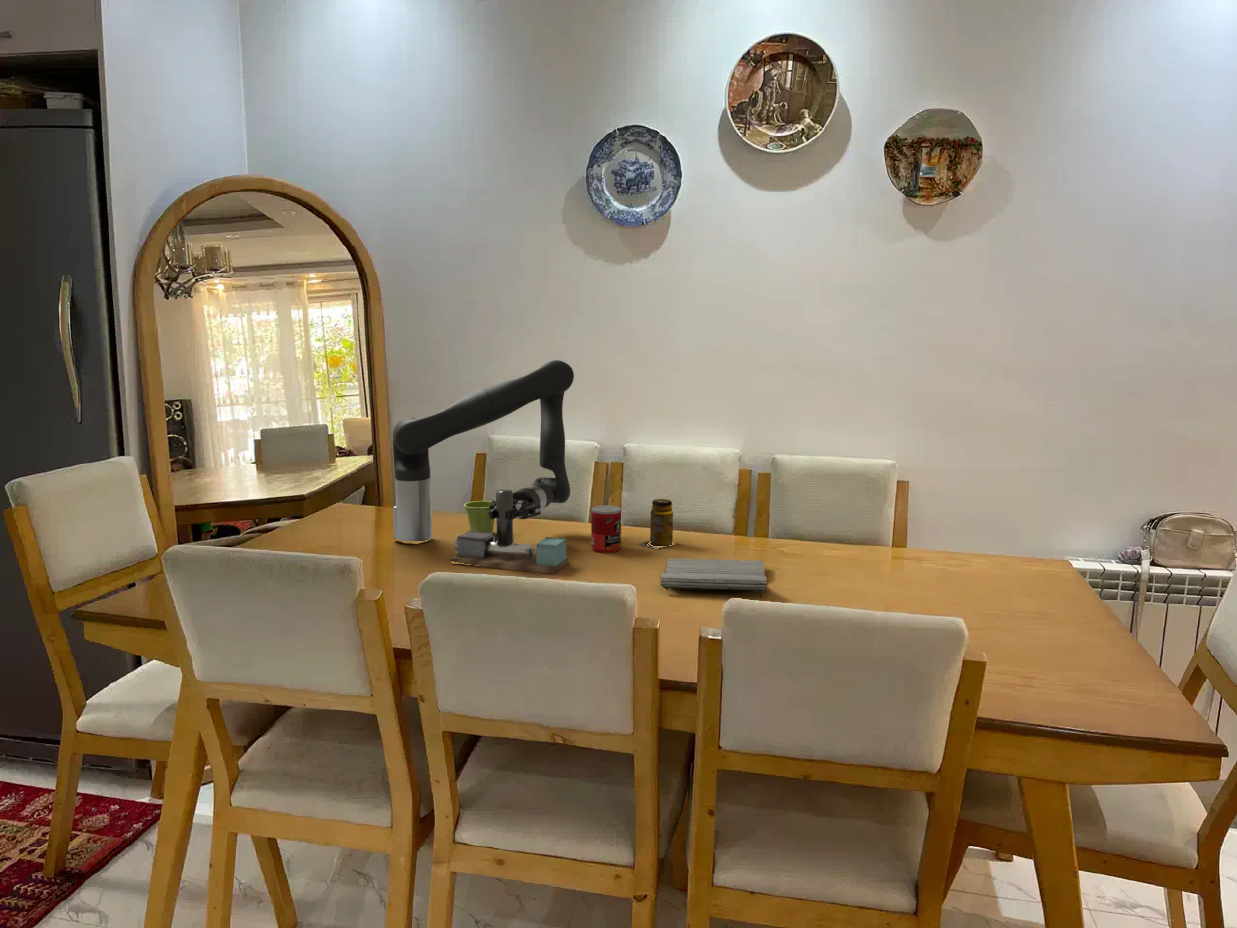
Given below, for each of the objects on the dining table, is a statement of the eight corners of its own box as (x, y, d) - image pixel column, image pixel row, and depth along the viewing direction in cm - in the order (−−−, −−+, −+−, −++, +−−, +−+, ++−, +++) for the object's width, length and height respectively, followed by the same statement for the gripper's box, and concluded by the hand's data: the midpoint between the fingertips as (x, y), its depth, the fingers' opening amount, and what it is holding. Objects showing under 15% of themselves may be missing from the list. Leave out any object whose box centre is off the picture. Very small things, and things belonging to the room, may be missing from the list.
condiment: (679, 544, 221) (680, 500, 219) (657, 550, 215) (658, 505, 213) (659, 539, 226) (660, 496, 224) (638, 544, 221) (638, 501, 219)
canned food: (609, 554, 210) (609, 513, 209) (585, 549, 215) (585, 508, 213) (626, 548, 216) (627, 507, 215) (603, 543, 221) (603, 503, 219)
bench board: (450, 563, 201) (450, 557, 201) (469, 553, 211) (469, 547, 210) (553, 574, 194) (553, 567, 193) (568, 562, 203) (568, 556, 203)
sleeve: (457, 556, 202) (457, 536, 202) (469, 549, 208) (469, 530, 208) (483, 558, 200) (483, 539, 200) (494, 552, 206) (494, 532, 206)
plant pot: (458, 537, 227) (457, 506, 226) (474, 529, 236) (473, 499, 235) (489, 539, 225) (488, 508, 223) (503, 531, 233) (503, 501, 232)
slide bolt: (453, 553, 204) (452, 489, 201) (461, 548, 208) (459, 486, 205) (528, 560, 198) (527, 494, 196) (534, 555, 202) (534, 491, 199)
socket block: (536, 564, 196) (536, 543, 195) (547, 556, 203) (546, 537, 202) (556, 566, 195) (555, 545, 194) (566, 558, 201) (566, 538, 200)
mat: (763, 570, 200) (764, 551, 199) (766, 602, 177) (767, 581, 176) (668, 565, 203) (668, 547, 202) (659, 596, 180) (659, 575, 179)
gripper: (502, 486, 215) (472, 498, 199) (553, 489, 211) (526, 502, 195) (503, 513, 217) (473, 528, 200) (553, 517, 213) (527, 533, 196)
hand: (499, 515), depth 198 cm, fingers closed on slide bolt, 4 cm apart
